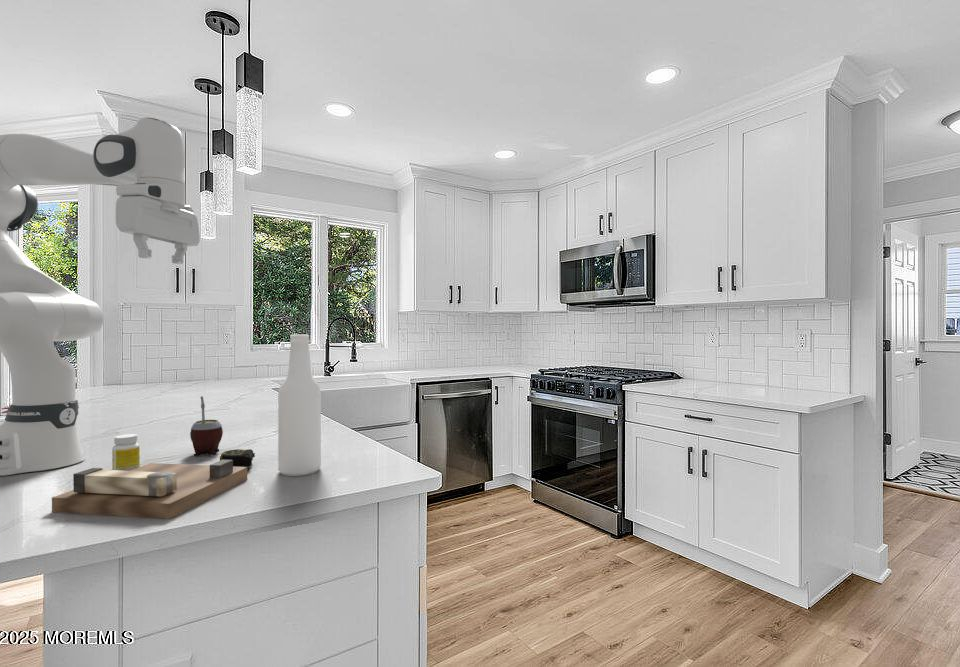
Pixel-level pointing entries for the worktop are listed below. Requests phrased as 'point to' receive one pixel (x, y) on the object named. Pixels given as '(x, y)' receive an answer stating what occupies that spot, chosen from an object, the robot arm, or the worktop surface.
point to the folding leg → (125, 482)
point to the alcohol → (299, 414)
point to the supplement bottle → (125, 453)
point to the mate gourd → (206, 435)
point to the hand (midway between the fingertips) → (162, 261)
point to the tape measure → (239, 457)
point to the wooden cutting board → (190, 492)
